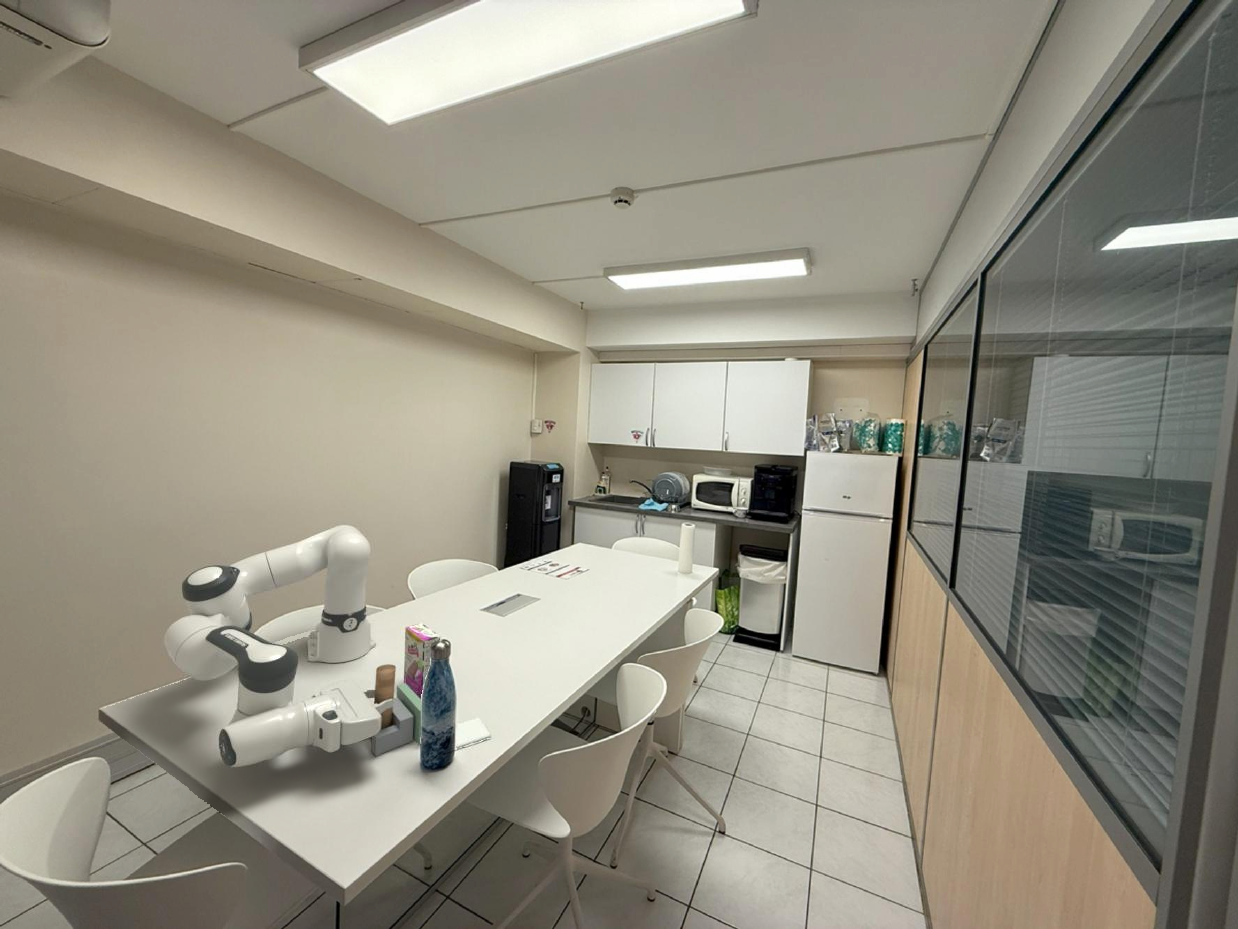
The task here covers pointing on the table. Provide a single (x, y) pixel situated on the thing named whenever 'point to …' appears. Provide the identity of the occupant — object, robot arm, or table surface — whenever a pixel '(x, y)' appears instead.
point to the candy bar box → (417, 655)
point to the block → (394, 730)
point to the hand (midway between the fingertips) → (388, 696)
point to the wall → (411, 708)
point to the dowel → (385, 691)
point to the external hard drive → (470, 732)
